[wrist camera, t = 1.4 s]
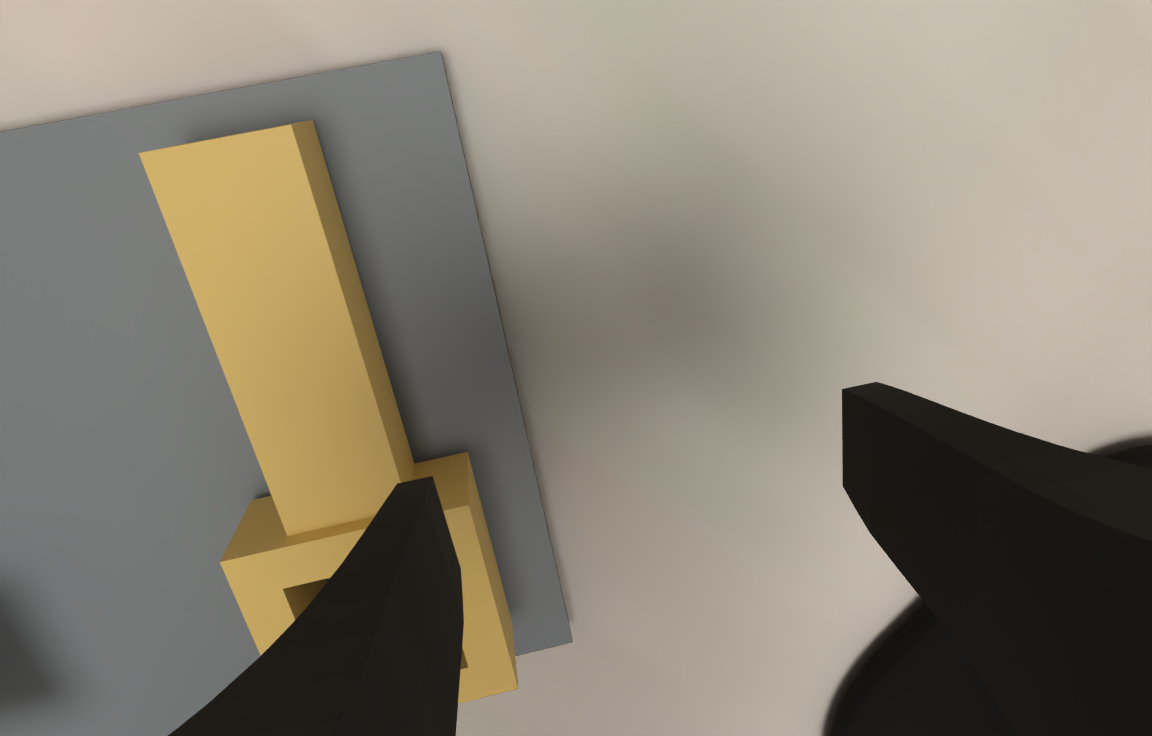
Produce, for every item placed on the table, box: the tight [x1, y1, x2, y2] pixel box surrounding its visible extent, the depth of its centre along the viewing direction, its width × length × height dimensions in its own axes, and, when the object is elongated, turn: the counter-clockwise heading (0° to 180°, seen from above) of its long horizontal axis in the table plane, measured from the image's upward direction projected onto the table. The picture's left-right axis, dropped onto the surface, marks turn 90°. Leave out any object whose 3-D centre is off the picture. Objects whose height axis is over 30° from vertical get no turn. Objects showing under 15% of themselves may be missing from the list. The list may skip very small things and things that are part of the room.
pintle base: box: [0, 51, 573, 736], centre depth 19 cm, size 19×22×5 cm
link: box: [139, 120, 518, 704], centre depth 19 cm, size 16×6×3 cm, turn 10°
